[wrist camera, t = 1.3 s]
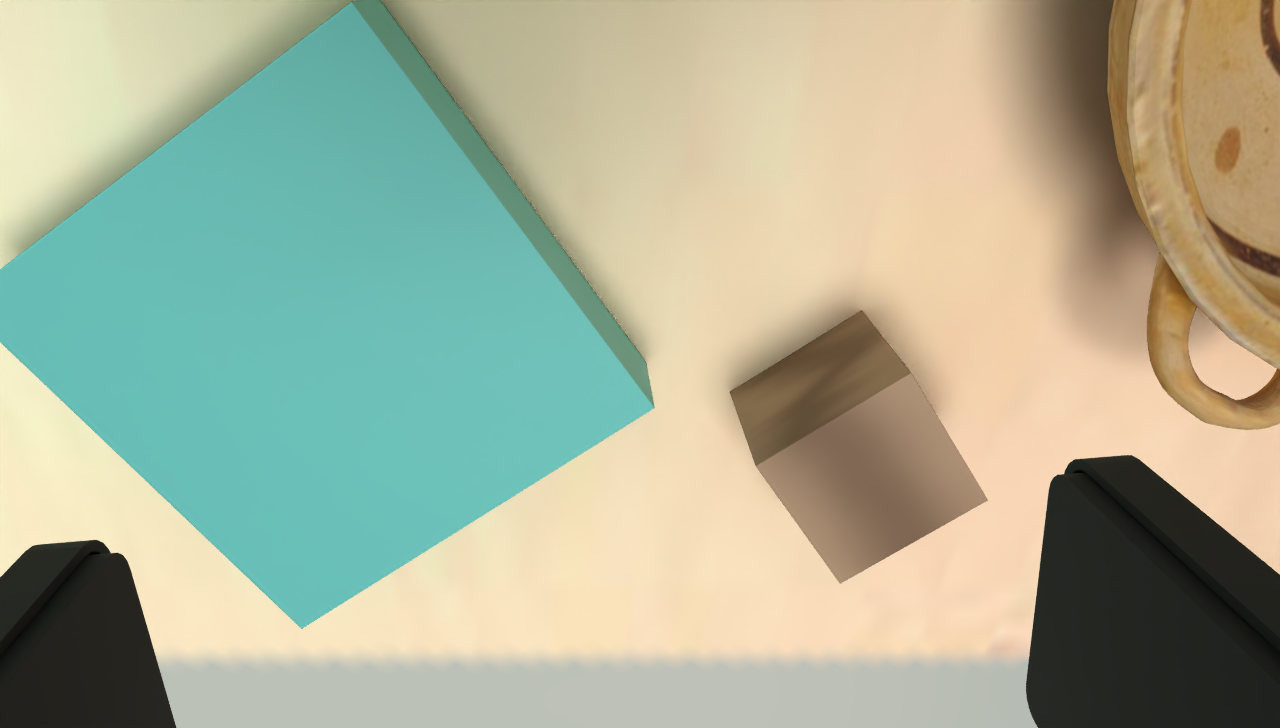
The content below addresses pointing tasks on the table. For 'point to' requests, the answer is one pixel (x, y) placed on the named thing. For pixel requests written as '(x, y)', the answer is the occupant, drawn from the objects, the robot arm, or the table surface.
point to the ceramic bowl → (1204, 181)
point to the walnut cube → (854, 448)
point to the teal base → (325, 321)
